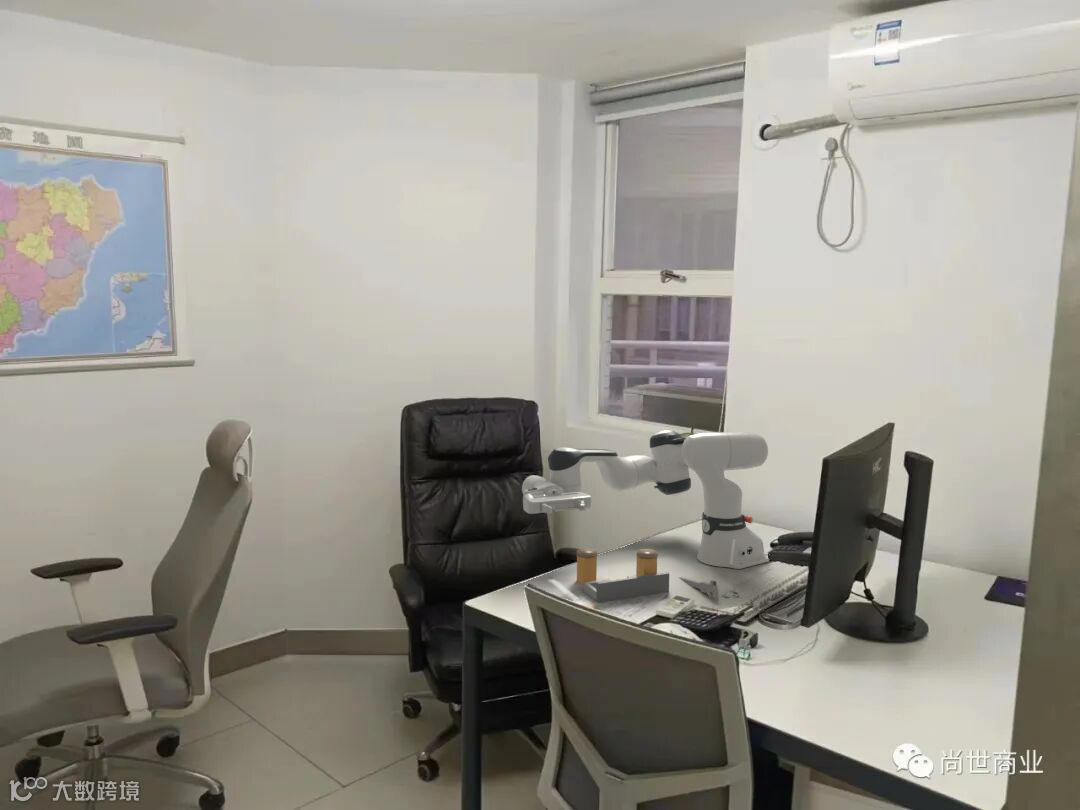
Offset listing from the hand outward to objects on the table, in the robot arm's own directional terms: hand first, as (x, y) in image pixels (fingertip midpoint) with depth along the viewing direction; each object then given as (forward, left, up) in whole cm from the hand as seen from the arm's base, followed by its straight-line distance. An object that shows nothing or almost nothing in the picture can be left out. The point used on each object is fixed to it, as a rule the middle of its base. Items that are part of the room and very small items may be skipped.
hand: (568, 509), depth 230 cm
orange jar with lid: (-13, +23, -17) cm, 31 cm away
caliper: (-25, +28, -19) cm, 42 cm away
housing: (-6, +23, -18) cm, 30 cm away
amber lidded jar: (0, +13, -18) cm, 22 cm away
